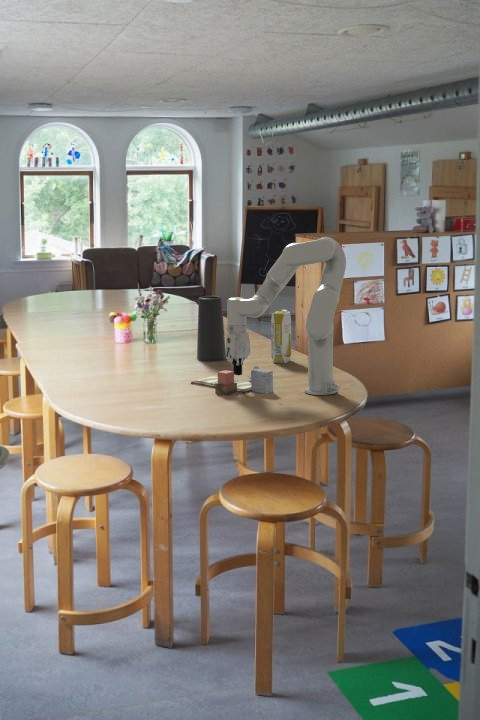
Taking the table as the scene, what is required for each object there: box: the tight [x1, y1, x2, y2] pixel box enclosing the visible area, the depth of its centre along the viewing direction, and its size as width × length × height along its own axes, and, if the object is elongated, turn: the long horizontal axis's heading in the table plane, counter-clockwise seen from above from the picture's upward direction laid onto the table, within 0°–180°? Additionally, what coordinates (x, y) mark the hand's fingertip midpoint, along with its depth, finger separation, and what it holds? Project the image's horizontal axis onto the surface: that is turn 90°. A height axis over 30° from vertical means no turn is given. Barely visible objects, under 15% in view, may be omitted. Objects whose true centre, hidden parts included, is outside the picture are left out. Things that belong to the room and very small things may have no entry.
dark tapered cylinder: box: [196, 295, 227, 362], centre depth 413 cm, size 14×14×29 cm
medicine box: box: [250, 368, 274, 395], centre depth 347 cm, size 8×4×9 cm, turn 47°
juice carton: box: [270, 309, 292, 364], centre depth 403 cm, size 9×8×24 cm
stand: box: [214, 382, 238, 396], centre depth 346 cm, size 6×6×4 cm
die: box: [217, 369, 235, 385], centre depth 345 cm, size 4×4×4 cm
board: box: [190, 375, 252, 395], centre depth 359 cm, size 29×13×1 cm, turn 48°
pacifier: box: [247, 365, 261, 383], centre depth 366 cm, size 7×6×6 cm
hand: (237, 374), depth 351 cm, fingers closed
